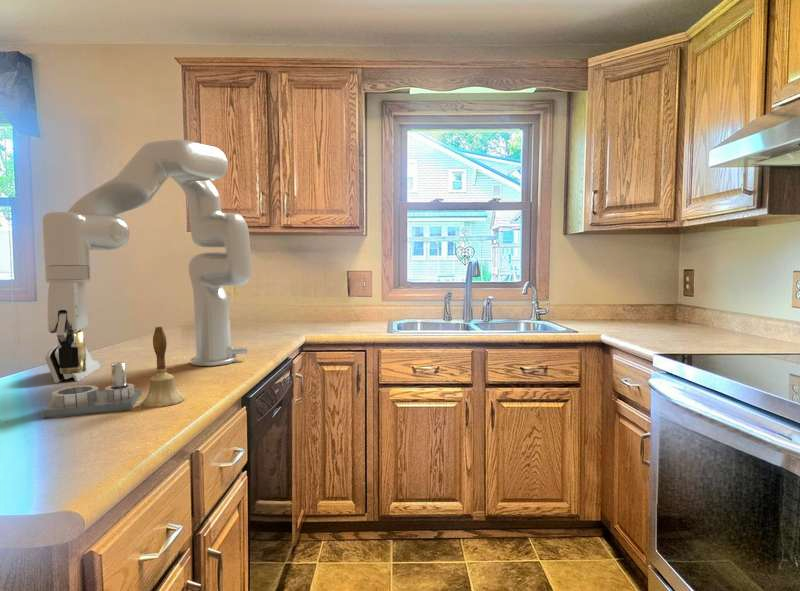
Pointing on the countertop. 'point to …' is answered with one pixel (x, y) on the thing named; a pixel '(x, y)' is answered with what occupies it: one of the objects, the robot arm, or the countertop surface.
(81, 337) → the brass nipple
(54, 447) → the countertop surface
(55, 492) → the countertop surface
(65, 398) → the plate
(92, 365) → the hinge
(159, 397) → the hand bell
